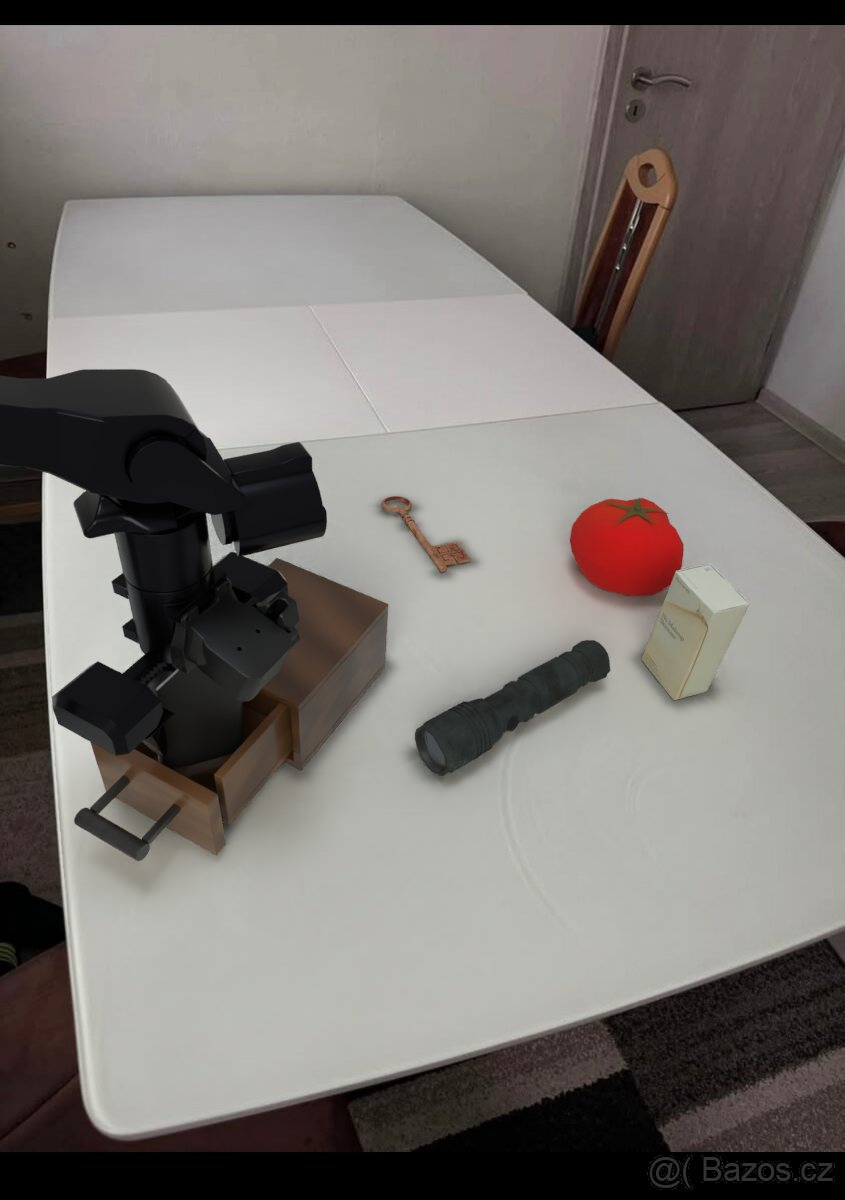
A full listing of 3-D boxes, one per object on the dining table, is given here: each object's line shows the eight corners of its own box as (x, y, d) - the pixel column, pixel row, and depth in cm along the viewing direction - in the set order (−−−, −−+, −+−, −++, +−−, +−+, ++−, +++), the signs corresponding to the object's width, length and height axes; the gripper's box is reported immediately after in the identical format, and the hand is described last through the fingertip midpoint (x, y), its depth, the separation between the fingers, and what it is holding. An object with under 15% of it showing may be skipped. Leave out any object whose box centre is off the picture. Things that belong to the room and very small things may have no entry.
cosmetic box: (639, 659, 84) (671, 569, 76) (675, 650, 86) (709, 560, 78) (674, 703, 80) (712, 612, 72) (711, 692, 81) (752, 602, 73)
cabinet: (301, 770, 71) (298, 705, 65) (187, 712, 75) (175, 647, 69) (385, 667, 81) (388, 603, 75) (280, 621, 85) (276, 557, 79)
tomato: (656, 626, 88) (682, 552, 82) (548, 584, 93) (565, 510, 86) (684, 572, 96) (710, 500, 89) (583, 535, 100) (601, 463, 93)
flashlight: (411, 750, 73) (414, 714, 70) (572, 660, 84) (582, 625, 80) (445, 789, 71) (450, 753, 67) (607, 690, 81) (619, 655, 77)
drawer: (174, 907, 60) (160, 858, 55) (59, 838, 64) (38, 786, 59) (313, 739, 73) (312, 687, 68) (212, 689, 76) (204, 637, 72)
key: (472, 567, 94) (418, 496, 104) (473, 561, 94) (419, 490, 103) (427, 574, 92) (376, 502, 102) (428, 568, 91) (377, 495, 101)
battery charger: (234, 719, 70) (230, 620, 62) (246, 752, 67) (244, 653, 60) (150, 740, 67) (135, 639, 59) (160, 776, 64) (146, 675, 57)
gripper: (166, 705, 45) (197, 857, 55) (346, 535, 58) (344, 684, 68) (20, 630, 48) (75, 786, 59) (220, 485, 61) (237, 634, 71)
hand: (194, 718), depth 64 cm, fingers closed on battery charger, 7 cm apart
